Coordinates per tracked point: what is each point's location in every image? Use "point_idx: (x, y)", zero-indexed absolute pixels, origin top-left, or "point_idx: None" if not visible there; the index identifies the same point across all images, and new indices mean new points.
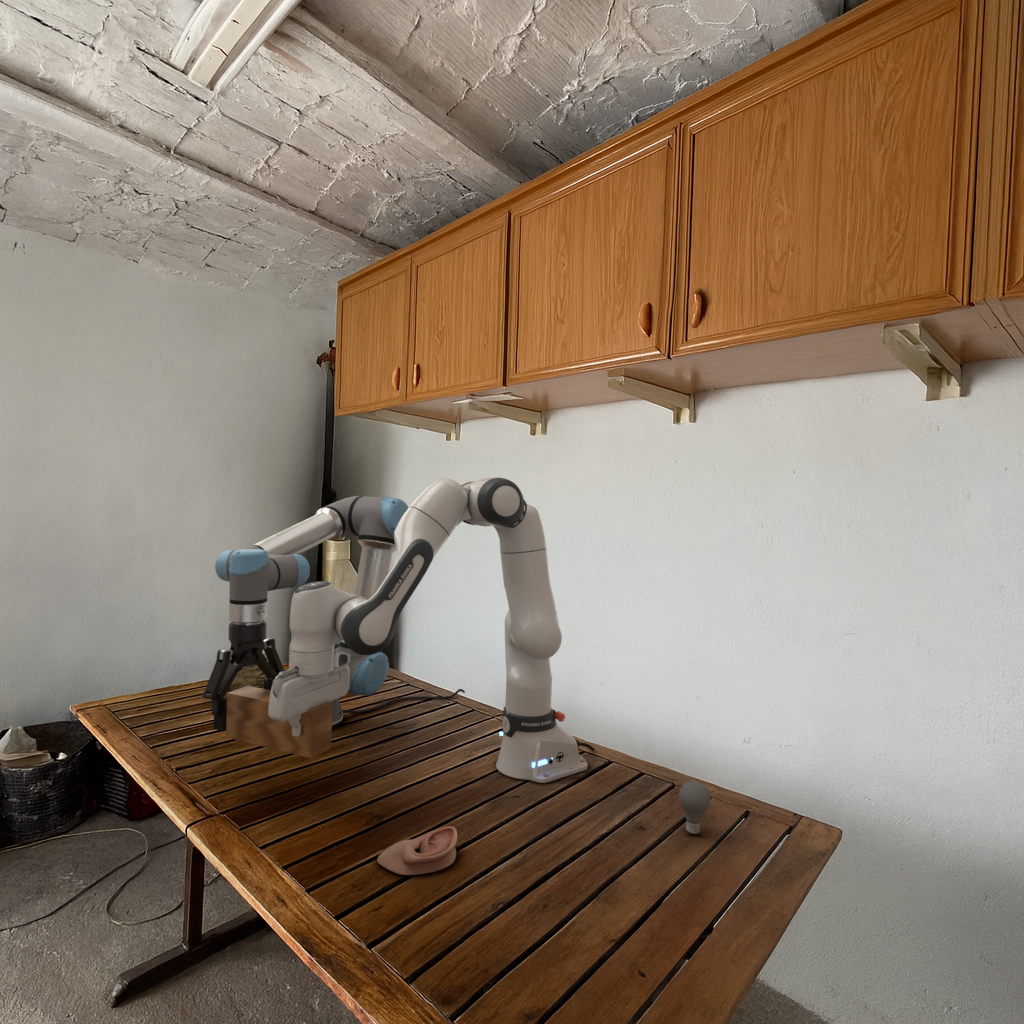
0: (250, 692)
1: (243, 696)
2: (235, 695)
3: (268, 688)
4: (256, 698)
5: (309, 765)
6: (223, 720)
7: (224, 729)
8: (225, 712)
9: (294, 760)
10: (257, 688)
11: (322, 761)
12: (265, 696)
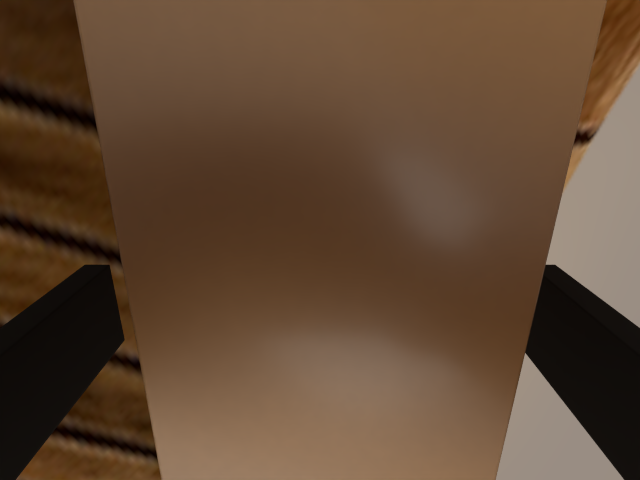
0: (348, 410)
1: (516, 374)
2: (490, 473)
3: (1, 426)
4: (555, 146)
5: (79, 115)
6: (603, 303)
7: (551, 269)
8: (632, 336)
9: (87, 193)
10: (181, 446)
11: (23, 96)
12: (409, 87)
